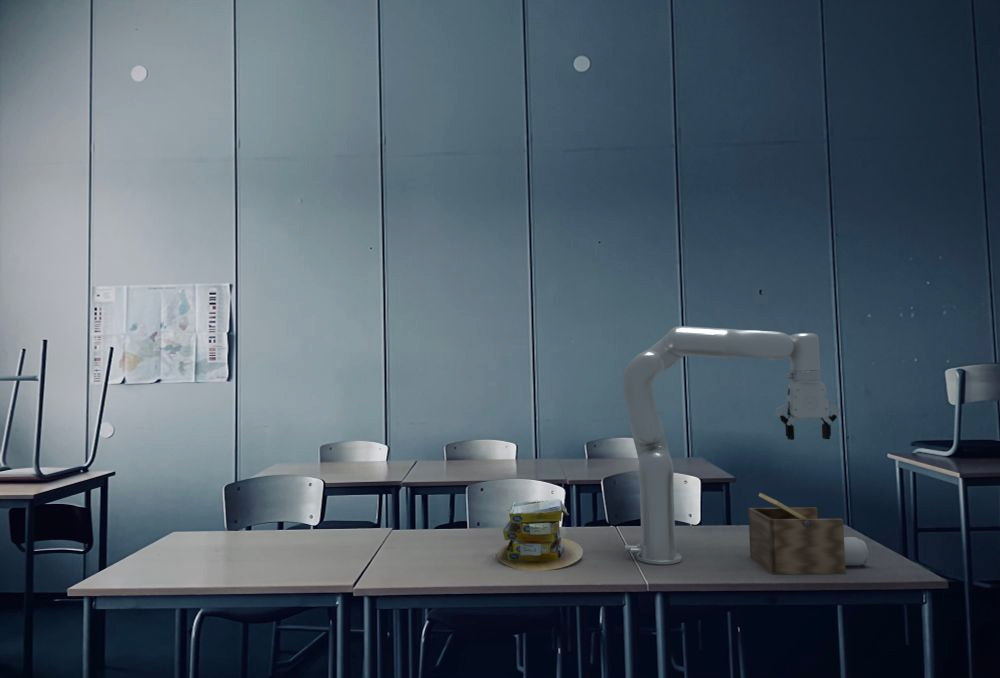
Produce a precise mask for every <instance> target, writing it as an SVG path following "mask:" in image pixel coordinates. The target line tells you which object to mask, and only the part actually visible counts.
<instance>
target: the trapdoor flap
mask: <svg viewBox="0 0 1000 678" xmlns="http://www.w3.org/2000/svg"><path fill="white" fill-rule="evenodd" d="M758 497H760V498H761V499H763V500H765V501H766V502H768V503H770V504H772V505H773V506H774V507H776V508H780V509H782V510H783V511H785V512H787V513H789V514H790V515H792V516H794V517H795V518H797V519H807V518H806V517H804V516H802V515H801V514H799V513H797V512H795V511H794V510H792V509H790V508H791V507H789V506H787V505H786V504H784V503H781V502H780V501H778V500H776V499H774V498H772V497H770V496H768V495H765V494H764V493H761V492H759V494H758Z"/></svg>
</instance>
